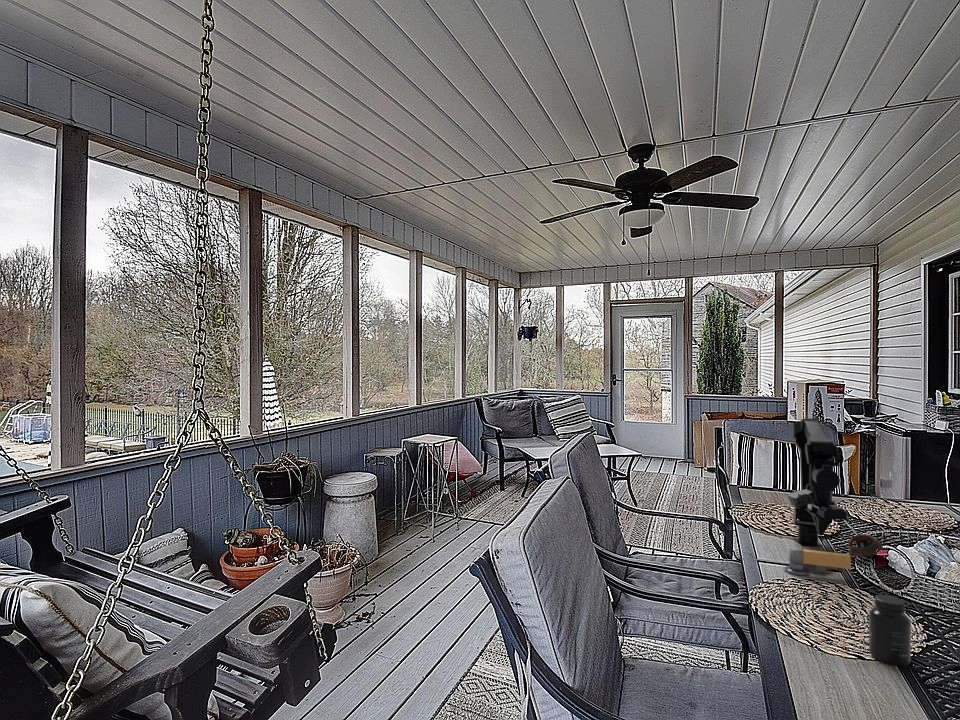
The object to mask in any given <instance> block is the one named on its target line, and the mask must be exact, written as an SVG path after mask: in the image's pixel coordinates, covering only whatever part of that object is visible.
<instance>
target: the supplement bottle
mask: <svg viewBox="0 0 960 720" xmlns="http://www.w3.org/2000/svg"><path fill="white" fill-rule="evenodd" d="M874 600H875V601H874V607H873V608H871V609H870V611H869V615H868V651H869V653H870V655H871V656H872V657H873V658H874V659H876V660H878V661H879V662H882V663H885V664H887V665H891V666H895V667H905V666H908V665H909V664H910V663H911V655H912V654H911V653H912V650H911V649H912V646H911V645H912V644H911V643H912V641H911V640H912V639H911V638H912V635H911V633H912V631H911V630H912V627H911V626H912V623H911V619H910V618H909V616H908V615H907V614H905V613H906V608H905V601H904V600H903V599H900V598H899V597H896V596H893V595H888V594H876V595H875V598H874Z"/></svg>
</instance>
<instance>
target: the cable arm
mask: <svg viewBox="0 0 960 720" xmlns="http://www.w3.org/2000/svg"><path fill="white" fill-rule="evenodd" d="M788 550H789V552H788V553H789V558H788V559H789V561H790V562H792V563H796V564H803V563H804V564H812V565H820V566H829V567H837V568H839V569H847V570H851V568H852V566H851V564H852V562H851V561H852V558H851V556H850V555H849V553H848V554H847V553H841V552H840V553H839V552H831V551H821V550H814V549H803V548H800V547H789V549H788ZM837 568H836V569H837Z"/></svg>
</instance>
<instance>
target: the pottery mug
mask: <svg viewBox="0 0 960 720" xmlns="http://www.w3.org/2000/svg"><path fill="white" fill-rule="evenodd" d="M853 543H854V544H855V546H854V545H853ZM877 549H878V550H883V551H884V546H883V544H882V543H881V542H880V541H879V540H877V539H876V538H875V536H872V535H869V534H864V533H863V534H861V533H860V534H856V535H854V536H852V537H851V538H850V539H849V540H848V554H849V555H850V556H851V559H854V557H863V558H864V557H869V556H873V555H877V552H876V550H877Z"/></svg>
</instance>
